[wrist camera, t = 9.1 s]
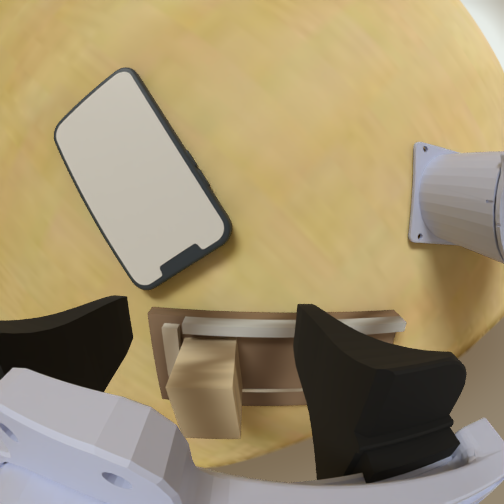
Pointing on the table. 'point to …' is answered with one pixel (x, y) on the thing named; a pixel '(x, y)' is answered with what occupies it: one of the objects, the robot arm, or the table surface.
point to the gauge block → (207, 388)
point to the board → (255, 345)
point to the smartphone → (140, 181)
